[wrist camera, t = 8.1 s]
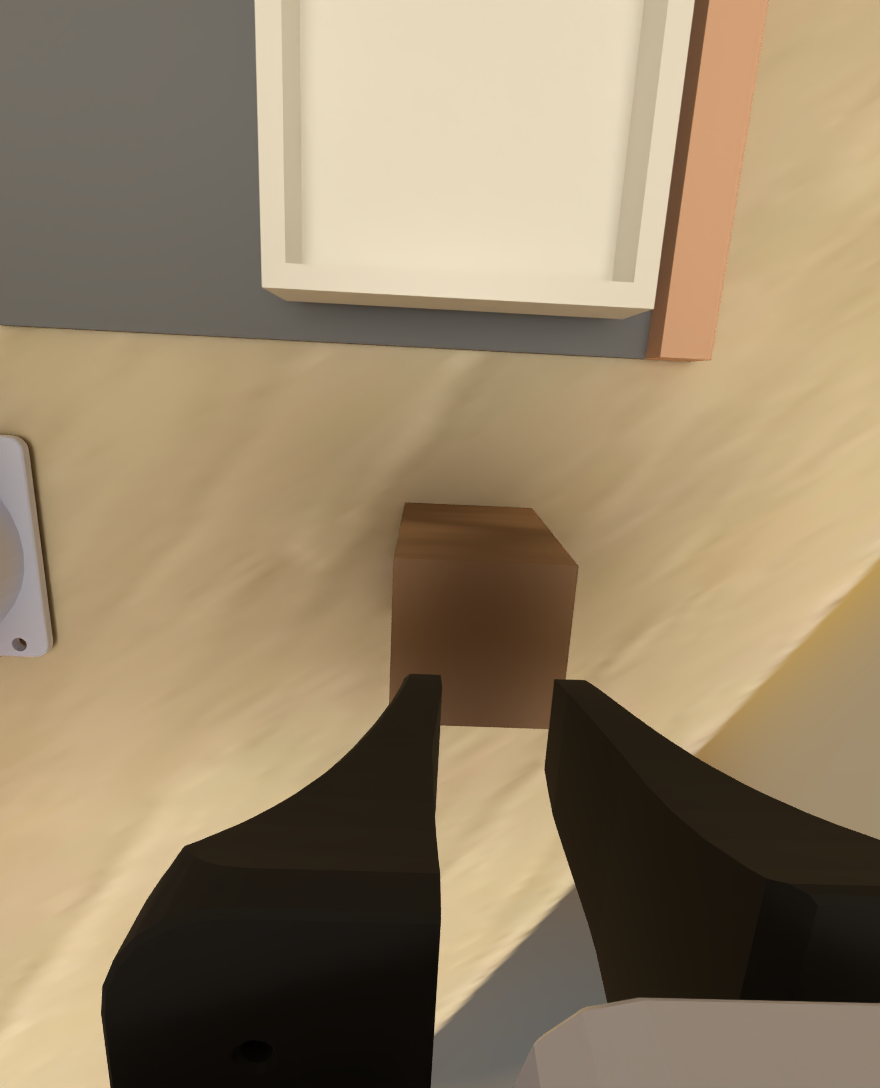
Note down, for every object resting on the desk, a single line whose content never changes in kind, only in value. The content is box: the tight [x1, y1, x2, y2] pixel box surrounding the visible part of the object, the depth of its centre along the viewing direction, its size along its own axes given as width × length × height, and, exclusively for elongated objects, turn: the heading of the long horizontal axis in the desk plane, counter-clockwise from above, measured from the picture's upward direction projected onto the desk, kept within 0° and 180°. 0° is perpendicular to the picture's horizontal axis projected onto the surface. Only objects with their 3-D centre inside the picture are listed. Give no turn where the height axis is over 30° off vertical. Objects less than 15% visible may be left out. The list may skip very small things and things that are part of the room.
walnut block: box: [389, 503, 578, 729], centre depth 19 cm, size 4×4×7 cm
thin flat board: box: [0, 0, 769, 362], centre depth 17 cm, size 23×17×2 cm
